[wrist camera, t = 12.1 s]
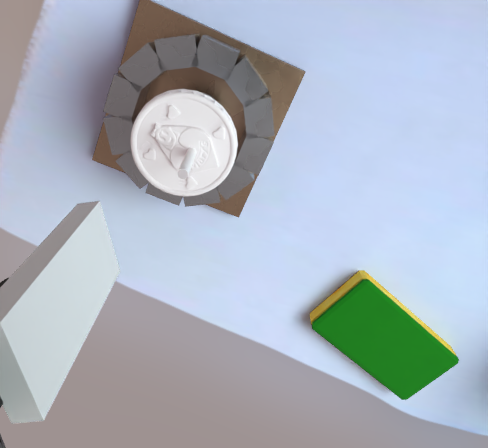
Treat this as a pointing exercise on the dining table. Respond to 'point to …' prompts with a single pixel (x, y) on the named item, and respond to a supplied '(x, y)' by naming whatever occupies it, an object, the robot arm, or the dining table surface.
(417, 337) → the dish sponge
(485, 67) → the dining table surface
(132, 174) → the stone fire pit ring
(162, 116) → the smoothie
